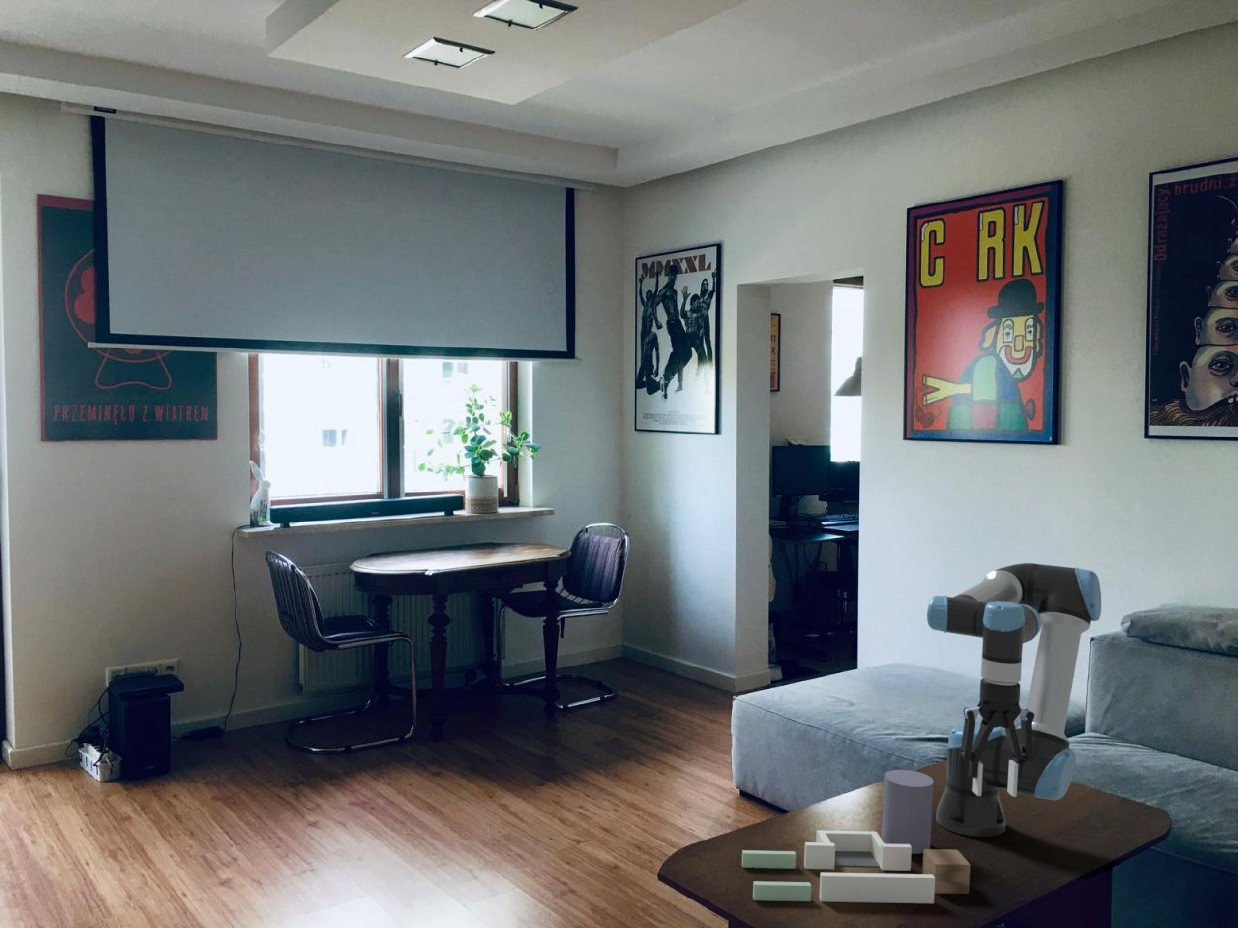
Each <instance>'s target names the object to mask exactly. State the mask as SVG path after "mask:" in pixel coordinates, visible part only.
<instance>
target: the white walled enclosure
mask: <svg viewBox="0 0 1238 928" xmlns="http://www.w3.org/2000/svg"><path fill="white" fill-rule="evenodd" d="M815 840H816V841H813V842H812V841H804V851H803V852H804V853H803V854H804V855H803V866H804V869H806V870H835V867H857V868H859V867H862V868H863V867H865V868H880V869H881V871H896V872H897V871H901V872H903V871H908V872H909V871H910V872H911V871H912V870H911V869H912V855H913V854H912V847H911V845H910V844H885V843H884V842H883V840H882V837H881V836H880V834H879V833H878V832H877V831H867V830H865V831H863V830H861V831H860V830H821V829H820V830H819V829H818V830H816V839H815ZM934 892H935V877H934V876H933V875H931V874H922V873H921V874H920V873H919V874H917V873H875V872H874V873H873V872H872V873H870V872H869V873H867V872H865V873H864V872H857V873H856V872H826V871H825V872H820V875H819V894H818V895H819V896H818V898H819V900H820V902H833V903H834V902H835V903H836V902H838V903H839V902H841V903H842V902H844V903H845V902H846V903H847V902H848V903H892V904H893V903H895V904H896V903H897V904H899V903H900V904H902V903H903V904H906V903H907V904H911V903H912V904H935V893H934Z"/></svg>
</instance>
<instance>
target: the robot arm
mask: <svg viewBox="0 0 1238 928" xmlns="http://www.w3.org/2000/svg"><path fill="white" fill-rule="evenodd" d="M1101 591H1102V589H1101V583H1100V579H1099V577H1098V575H1097V574H1096V572H1094V571H1092V570H1089V569H1083V568H1078V567H1069V566H1068V567H1067V566H1060V565H1059V566H1058V565H1050V564H1041V563H1034V562H1026V563H1025V562H1024V563H1016V564H1011V565H1008V566H1007V565H1006V566H1004V567H1000V568H998V569H996V570H993V571H991V572H989V573H988V574H987V575H985V577H984V578H983V580H982V581H981V582H980V583H977V584H975V585H973V586H972V587H970V588H969V589H967V590H966V589H965V590H964V591H963V592H961V593H959V594H957V595H955V596H954V597H951V596H947V595H944V596H943V595H942V596H941V595H934V596H933V597H932V598H931V599H930V600H929V603H928V605H927V610H926V611H927V612H926V620H927V625H928V626H929V628H930V629H931V630H935V631H938V632H943V633H945V634H946V633H949V634H955V635H961V636H969V637H976V638H981V639H982V645H981V646H982V648H981V650H982V651H981V653H982V654H981V666H980V668H981V669H980V676H981V678H982V679H981V680H980V682H979V683H980V684H979V702H978V703H977V705H976V707H971V708H969V707H964V708H963V710H962V711H963V715H964V723H961V724H958V725H955V726H953V727H952V728H951V729H950V730H949V734H948V740H947V741H948V743H947V745H946V748H947V755H946V773H945V774H946V775H945V776H946V777H945V778H946V779H945V780H946V781H945V788H944V791H943V793H942V797H940V801H939V803H938V806H937V809H936V815H935V817H936V819H935V821H936V822H937V824H938V825H939V826H940V827H942V828H944V829H945V830H948V831H949V832H953V833H955V834H958V835H963V836H967V837H972V838H994V837H998V836H1000V834H1001V835H1002V833H1003V832H1004V833H1005V831H1006V817H1005V814H1004V810H1003V806H1002V803H1001V800H1000V789H1003V790H1007V791H1006V792H1007V793H1008V794H1009V795H1010V796H1011V797H1013V798H1016V797H1017V796H1018V795H1017V794H1018V793H1020V794H1024V795H1027V796H1032V797H1035V798H1036V799H1045V800H1050V801H1057V800H1060V799H1062V798H1063V796H1065V794H1066V793H1067V791H1068V790H1069V787H1070V784H1071V783H1072V780H1073V776H1074V772H1075V767H1076V766H1075V764H1076V752H1075V751H1074V750H1072V749H1071V748H1070V742H1071V741H1070V740H1069V739H1068V738H1067V736H1066V735H1065V728H1066V723H1067V718H1068V711H1069V705H1070V701H1071V700H1070V699H1071V693H1072V687H1073V682H1074V677H1075V671H1076V666H1077V660H1078V654H1079V649H1080V643H1081V637H1082V634H1083V633H1085V632H1087V631H1089V629H1090V628H1091V621H1092V622H1095V621H1099V620H1100V617H1101V614H1102V592H1101ZM1039 633H1040V634H1039ZM1038 634H1039V640H1038V643H1037V644H1038V645H1037V650H1036V655H1035V660H1034V661H1035V662H1034V666H1033V672H1032V677H1031V681H1030V686H1029V687H1030V688H1029V692H1028V698H1027V703H1026V708H1025V709H1023V708H1022V707H1021V706H1020V701H1021V684H1020V682H1021V681H1022V667H1023V666H1022V664H1023V663H1022V661H1023V649H1024V648H1023V647H1024V644H1025V643H1028V642H1030V641H1032V640H1034V639H1035V637H1036V636H1038ZM978 715H980V717H981V718H982V719H981V721H980V722H976V720H977V719H978ZM1018 717H1019V719H1020V725H1018V726H1017V727H1016V725H1015V721H1016V719H1017V718H1018ZM1002 728H1003V729H1004V731H1003V729H1002ZM1004 732H1005V735H1004ZM1004 833H1003V834H1004Z"/></svg>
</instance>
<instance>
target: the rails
mask: <svg viewBox="0 0 1238 928" xmlns="http://www.w3.org/2000/svg"><path fill="white" fill-rule="evenodd" d="M741 867H742V868H743V869H747V868H748V869H749V868H750V869H751V868H752V867H753V868H752V869H788V870H789V869H796V868H797V853H796V851H795V850H755V849H753V850H752V849H751V850H749V849H747V850H745V849H742V850H741ZM752 886H753V887H752V898H753V901H780V902H781V901H784V902H785V901H786V902H787V901H789V902H795V901H796V902H812V887H813V886H812V884H811V882H810V881H809V882H808V881H805V882H804V881H757V880H756V881H755V880H754V881H753V883H752Z"/></svg>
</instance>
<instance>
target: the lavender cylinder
mask: <svg viewBox="0 0 1238 928" xmlns="http://www.w3.org/2000/svg"><path fill="white" fill-rule="evenodd" d="M883 786H884V787H883V801H882V802H883V803H882V805H883V806H882V824H881V825H882V827H881V839H882V840H883V842H884V843H885V844H910V845H911V847H912V855H918V854H919V855H920V854H923V851H924V849H931V840H932V839H931V837H932V818H933V802H934V801H933V800H934V799H933V798H934V797H933V796H934V779H933V778H932V777H931V776H929V775H927V774H926V773H922V772H919V771H916V770H915V771H914V770H907V769H894V770H890V771H889V770H888V771H887V772H885V773H884V785H883Z"/></svg>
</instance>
